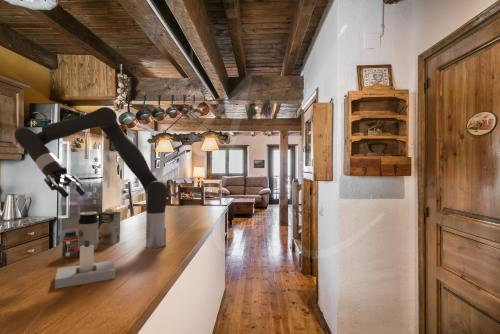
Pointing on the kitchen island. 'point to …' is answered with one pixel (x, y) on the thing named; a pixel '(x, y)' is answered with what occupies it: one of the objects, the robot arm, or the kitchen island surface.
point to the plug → (86, 257)
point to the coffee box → (109, 227)
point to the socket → (84, 274)
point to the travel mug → (88, 229)
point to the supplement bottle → (70, 245)
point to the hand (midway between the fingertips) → (75, 195)
